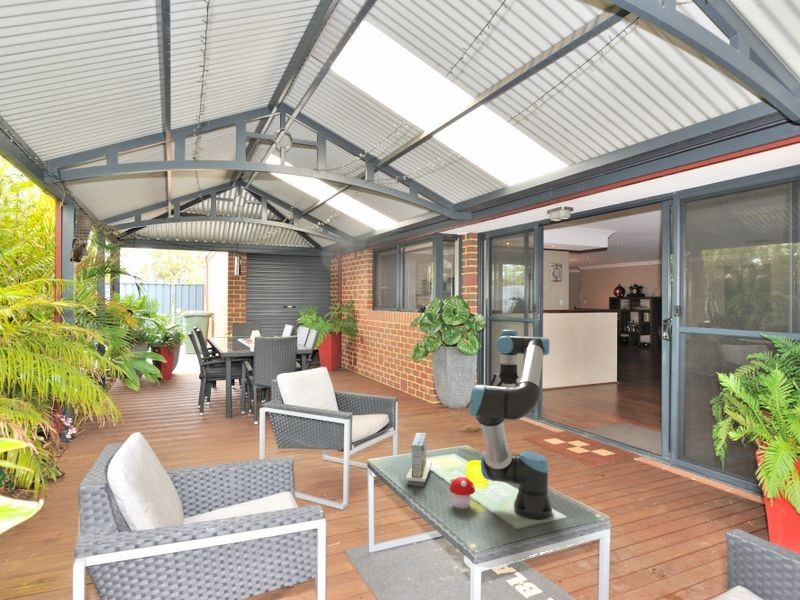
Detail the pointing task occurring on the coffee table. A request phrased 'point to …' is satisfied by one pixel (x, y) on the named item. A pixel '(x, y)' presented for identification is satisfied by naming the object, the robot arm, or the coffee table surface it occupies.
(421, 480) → the stand
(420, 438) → the snack box
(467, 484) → the mushroom
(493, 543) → the coffee table surface
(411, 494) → the coffee table surface
